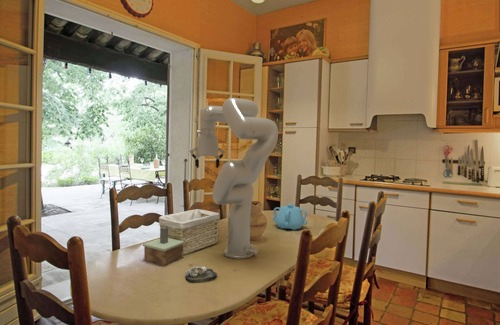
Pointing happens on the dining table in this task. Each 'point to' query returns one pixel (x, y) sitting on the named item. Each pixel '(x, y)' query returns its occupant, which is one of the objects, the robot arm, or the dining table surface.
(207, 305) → the dining table surface
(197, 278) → the grey oval ornament
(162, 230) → the lid
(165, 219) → the storage basket
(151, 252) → the box
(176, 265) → the dining table surface
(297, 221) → the decorative pot
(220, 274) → the dining table surface
